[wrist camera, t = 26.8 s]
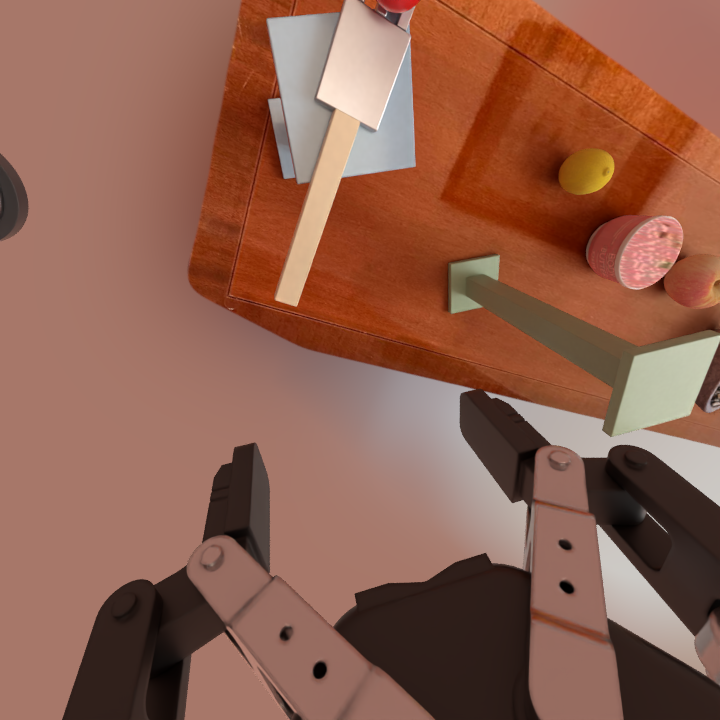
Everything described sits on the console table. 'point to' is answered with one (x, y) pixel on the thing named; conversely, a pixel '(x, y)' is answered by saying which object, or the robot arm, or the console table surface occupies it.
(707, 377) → the planter
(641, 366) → the tall stand
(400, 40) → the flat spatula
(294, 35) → the low stand
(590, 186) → the lemon
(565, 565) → the robot arm
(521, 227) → the console table surface
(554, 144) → the console table surface
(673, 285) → the apple
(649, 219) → the container
